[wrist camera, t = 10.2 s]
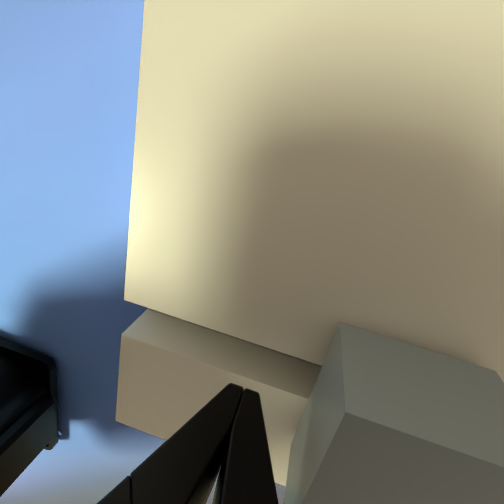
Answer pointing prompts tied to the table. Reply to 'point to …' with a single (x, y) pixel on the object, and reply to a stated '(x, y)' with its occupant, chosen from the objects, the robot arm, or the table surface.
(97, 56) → the table surface
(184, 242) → the console
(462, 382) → the block
